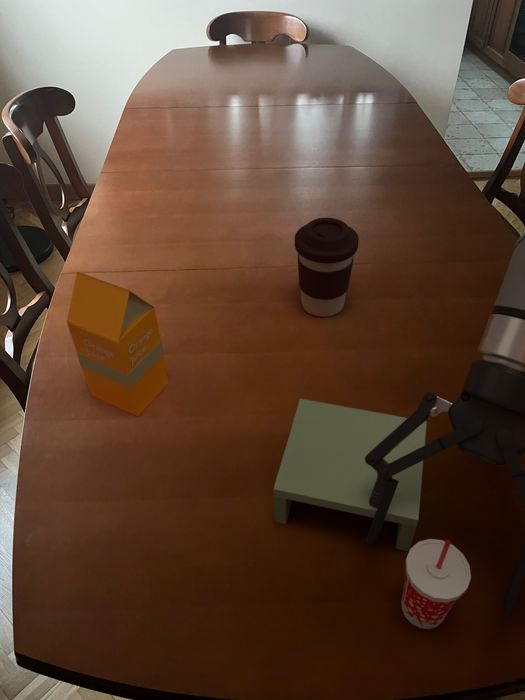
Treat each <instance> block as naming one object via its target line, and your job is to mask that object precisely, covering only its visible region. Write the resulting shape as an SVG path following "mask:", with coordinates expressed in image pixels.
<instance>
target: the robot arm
mask: <svg viewBox="0 0 525 700" xmlns="http://www.w3.org/2000/svg"><path fill="white" fill-rule="evenodd" d="M476 351H477V352H478V354H479V355H481V357H480V359H479V358H476V359H475V361H472V362H471V365H470V367H469V370H468V372H467V375H466V378H465V380H464V384H463V387H462V389H461V391H460V394H459V396H458V398H457V399H456V400H455V401H454V402H453V403H452V402H450V401H449V400H446V399H445V398H442V397H440V396H439V395H438V394H437V392H433V391H428V392H426V393H425V394H424V395H423V396H422V398H421V400H420V403H419V404H418V407H417V408H416V410H415V411H414V412H412V414H410V415H409V416H408V417H406V418H407V419H406V420H405V421H404V422H403V423H402V424H401V425H399V426H398V427H397V428H396V429H395V430H394V431H393V432H392V433H391V434H389V435H388V436H387V437H386V438H385V439H384V440H383V441H382V442H381V443H379V444H378V445H377V446H376V447H375V448H374V449H373V450H372V451H371V452H369V453H368V454H367V455H366V457H365V462H366V463H367V464H368V465H370V466H371V467H372V468H373V469H375V471H376V472H377V480H376V483H375V485H374V488H373V491H372V493H371V496H370V499H369V505H370V506H372V507H374V508H377V511H376V514H375V516H374V518H373V519H372V521H371V524H370V527H369V530H368V533H367V535H366V538H365V540H364V541H365V542H366V543H368V544H370V545H373V544H374V543H375V542H376V541H377V540H378V538H379V536H380V535H379V534H380V533H381V530H382V527H383V525H384V522H385V521H386V520H385V517H386V514H387V512H388V509H389V506H390V504H391V501H392V498H393V496H394V493H395V490H396V488H397V485H398V483H399V481H398V480H395V479H393V478H392V476H393V475H395V474H397V473H399V472H401V471H403V470H405V469H407V468H409V467H411V466H413V465H415V464H417V463H419V462H421V461H423V462H424V461H425V460H427V459H429V458H431V457H433V456H435V455H438V454H439V453H441V452H443V451H445V450H447V449H450V448H451V447H454V446H457V447H458V449H459V450H460V451H461V452H462V454H465V455H466V456H469V457H474V458H475V457H476V458H480V459H481V460H482V461H484V462H485V463H487V464H490V465H492V466H494V467H496V466H504V465H506V466H507V468H508V471H509V473H510V476H511V478H512V481H513V484H514V485H515V488H516V490H517V494H518V495H519V499H520V501H521V503H522V506H523V508H524V509H525V469H524V466H523V464H522V462H521V459H520V457H521V456H523V455H524V454H525V227H524V228H523V231H522V233H521V235H520V237H519V238H518V240H517V241H516V242H515V245H514V248H513V253H512V256H511V258H510V261H509V264H508V267H507V270H506V272H505V275H504V278H503V280H502V283H501V286H500V288H499V291H498V293H497V297H496V299H495V302H494V305H493V308H492V311H491V313H490V314H489V317H488V320H487V323H486V325H485V328H484V331H483V334H482V335H481V338H480V341H479V344H478V347H477V349H476ZM443 412H444V413H447V415H448V420H449V423H450V426H451V430H452V431H450V432H447V433H446V434H444V435H442V436H441V437H438V438H436V439H434V440H432V441H430V442H429V443H427V444H426V443H425V445H424V446H423V447H421V448H419V449H417V450H415V451H413V452H411V453H409V454H407V455H405V456H403V457H401V458H399V459H397V460H395V461H393V462H391V463H388V462H387V461H386V460H384V459H383V458H384V457H385V456H386V455H387V454H389V453H390V452H391V451H392V450H393V449H394V448H395V447H396V446H398V445H399V444H400V443H401V442H402V441H403V440H404V439H405V438H407V437H408V436H409V435H410V434H411V433H412V432H413V431H414V430H416V429H417V428H418V427H419V426H420V425H421V424H422V423H423V422H425V421H426V422H427V420H428V418H429V417H433V418H434V417H438V416H439V415H441V413H443ZM524 580H525V542H524V543H523V544H522V547H521V551H520V553H519V556H518V558H517V560H516V563H515V566H514V569H513V571H512V574H511V575H510V578H509V581H508V583H507V586H506V588H505V590H504V591H505V592H504V593H503V597H502V600H501V603H502V605H501V606H502V607H501V609H503V610H504V611H507V612H509V613H511V612H512V610H513V608H514V605H515V603H516V600H517V599H518V595H519V593H520V590H521V588H522V585H523V583H524Z"/></svg>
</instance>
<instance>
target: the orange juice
mask: <svg viewBox="0 0 525 700" xmlns="http://www.w3.org/2000/svg"><path fill="white" fill-rule="evenodd" d="M65 321H66V324H67V327H68V330H69V333H70V337H71V339H72V342H73V345H74V349H75V351H76V356H77V359H78V361H79V364H80V367H81V370H82V373H83V376H84V378H85V382H86V384H87V388H88V391H89V393H90V394H89V395H90V396H91V397H93V398H96V399H98V400H100V401H102V402H105V403H107V404H109V405H111V406H114V407H115V408H118V409H120V410H122V411H124V412H127V413H128V414H131V415H133V416H135V417H137V418H139V416H140V415H141V414H142V413H143V412H144V411H145V410H146V409H147V407H149V405H150V404H151V403H152V402H153V401H154V400H155V399H156V398H157V397H158V395H159V394H161V392H162V391H163V390H164V388H166V387H167V386H168V385H169V383H170V382H169V376H168V371H167V367H166V366H167V365H166V361H165V356H164V354H165V353H164V349H163V342H162V340H161V335H160V329H159V325H158V318H157V314H156V308H155V307H154V306H153V305H151V304H150V303H148V302H147V301H146V300H145V299H142V298H141V297H140V296H138V295H137V294H135V293H134V292H132V291H131V290H129V289H127V288H124V287H121V286H118V285H116V284H113V283H111V282H108V281H105V280H103V279H100V278H99V279H98V278H96V277H94V276H92V275H88V274H85V273H82V272H80V271H76V274H75V279H74V284H73V289H72V293H71V299H70V305H69V309H68V314H67V319H66V320H65Z"/></svg>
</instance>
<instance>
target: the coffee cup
mask: <svg viewBox="0 0 525 700" xmlns="http://www.w3.org/2000/svg"><path fill="white" fill-rule="evenodd" d="M359 240H360V238H359V235H358V232H357V231H356V230H355V229H353V228H352V227H351V226H349V225H348V224H347V223H345V222H344V221H343V220H341V219H339V218H335V217H318V218H315V219H312V220H311V221H309V222H308V223H306V224H304V225H303V226H301V227H300V228H298V230H297V231H296V232H295V235H294V249H295V251H296V252H297V271H298V272H297V273H298V285H299V289H300V301H301V306H302V308H303V310H305V312H307V313H308V314H310V315H312V316H315V317H321V318H327V317H332V316H335V315H337V314H339V313H340V312H341V311H342V310H343V308H344V306H345V301H346V295H347V291H349V290H348V289H349V287H350V281H351V276H352V271H353V265H354V256H355V255H356V253H357V252H358V249H359V244H360V243H359V242H360V241H359Z"/></svg>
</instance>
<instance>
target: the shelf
mask: <svg viewBox="0 0 525 700" xmlns="http://www.w3.org/2000/svg"><path fill="white" fill-rule="evenodd" d="M407 418H408V417H403V416H398V415H394V414H393V415H392V414H388V413H382V412H378V411H377V412H376V411H372V410H365V409H360V408H356V407H355V408H354V407H349V406H343V405H338V404H332V403H327V402H321V401H317V400H310V399H305V398H299V401H298V404H297V407H296V410H295V414H294V418H293V420H292V424H291V428H290V430H289V434H288V438H287V441H286V444H285V448H284V452H283V455H282V458H281V462H280V464H279V469H278V472H277V475H276V479H275V482H274V485H273V490H272V491H273V522H276V523H280V524H284V525H285V524H286V525H287V521H288V518H289V516H290V515H289V514H290V511H291V506H292V503H293V502H298V503H299V502H300V503H303V504H309V505H313V506H317V507H323V508H327V509H331V510H337V511H339V512H340V511H341V512H345V513H351V514H355V515H359V516H363V517H368V518H373V519H374V516H375V514H376V511H377V508H374V507H372V506H370V505H369V499H370V496H371V493H372V491H373V488H374V485H375V483H376V480H377V472H376V471H375V469H373V468H372V467H371V466H370V465H368V464H367V463H366V462H365V457H366V455H367V454H368V453H369V452H371V451H372V450H373V449H374V448H375V447H376V446H377V445H378V444H379V443H381V442H382V441H383V440H384V439H385V438H386V437H387V436H388V435H389V434H391V433H392V432H393V431H394V430H395V429H396V428H397V427H398V426H399V425H401V424H402V423H403V422H404V421H405V420H406V419H407ZM426 436H427V420H426V421H425V422H423V423H422V424H421V425H420V426H419V427H418V428H417V429H416V430H414V431H413V432H412V433H411V434H410V435H409V436H408V437H407V438H405V439H404V440H403V441H402V442H401V443H400V444H399V445H398V446H396V447H395V448H394V449H393V450H392V451H391V452H390V453H389V454H387V455H386V456H385V457H384V458H383V459H384V460H386V461H387V462H388V463H391V462H393V461H395V460H397V459H399V458H401V457H403V456H405V455H407V454H409V453H411V452H413V451H415V450H417V449H419V448H421V447H423V446H424V445H426ZM423 468H424V460H423V461H421V462H419V463H417V464H415V465H413V466H411V467H409V468H407V469H405V470H403V471H401V472H399V473H397V474H395V475H393V476H392V478H393V479H395V480H398V481H399V483H398V485H397V488H396V490H395V493H394V496H393V498H392V501H391V504H390V506H389V509H388V512H387V514H386V517H385V520H384V521H387V522H391V523H395V524H398V525H397V533H396V543H395V550H399V551H405V552H408V553H409V551H410V549H411V545H412V542H413V539H414V535H415V533H416V530H417V526H418V523H419V518H420V517H419V516H420V504H421V493H422V484H423V483H422V481H423V471H424V469H423Z"/></svg>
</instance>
